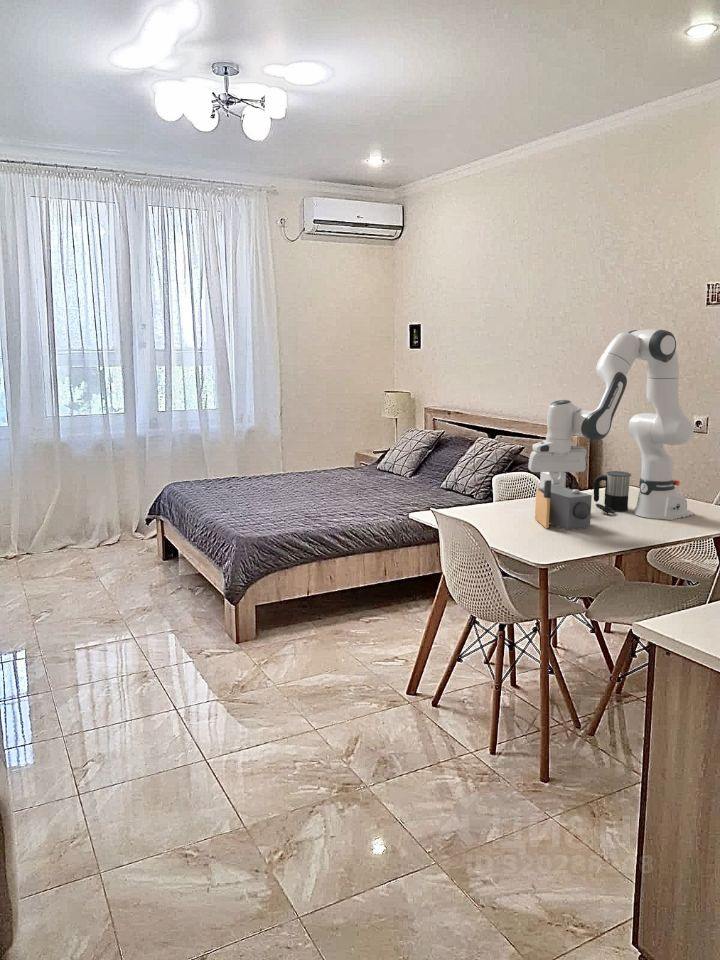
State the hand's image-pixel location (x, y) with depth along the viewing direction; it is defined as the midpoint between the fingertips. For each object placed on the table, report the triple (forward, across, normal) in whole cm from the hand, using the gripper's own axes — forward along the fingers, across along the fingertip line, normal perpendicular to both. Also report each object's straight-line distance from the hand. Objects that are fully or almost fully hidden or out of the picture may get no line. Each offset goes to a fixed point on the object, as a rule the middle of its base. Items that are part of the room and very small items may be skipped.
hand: (556, 484), depth 274 cm
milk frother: (+16, -31, -23) cm, 41 cm away
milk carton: (+16, -8, -28) cm, 33 cm away
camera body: (+16, -5, -5) cm, 18 cm away
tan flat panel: (+16, +3, -4) cm, 16 cm away
